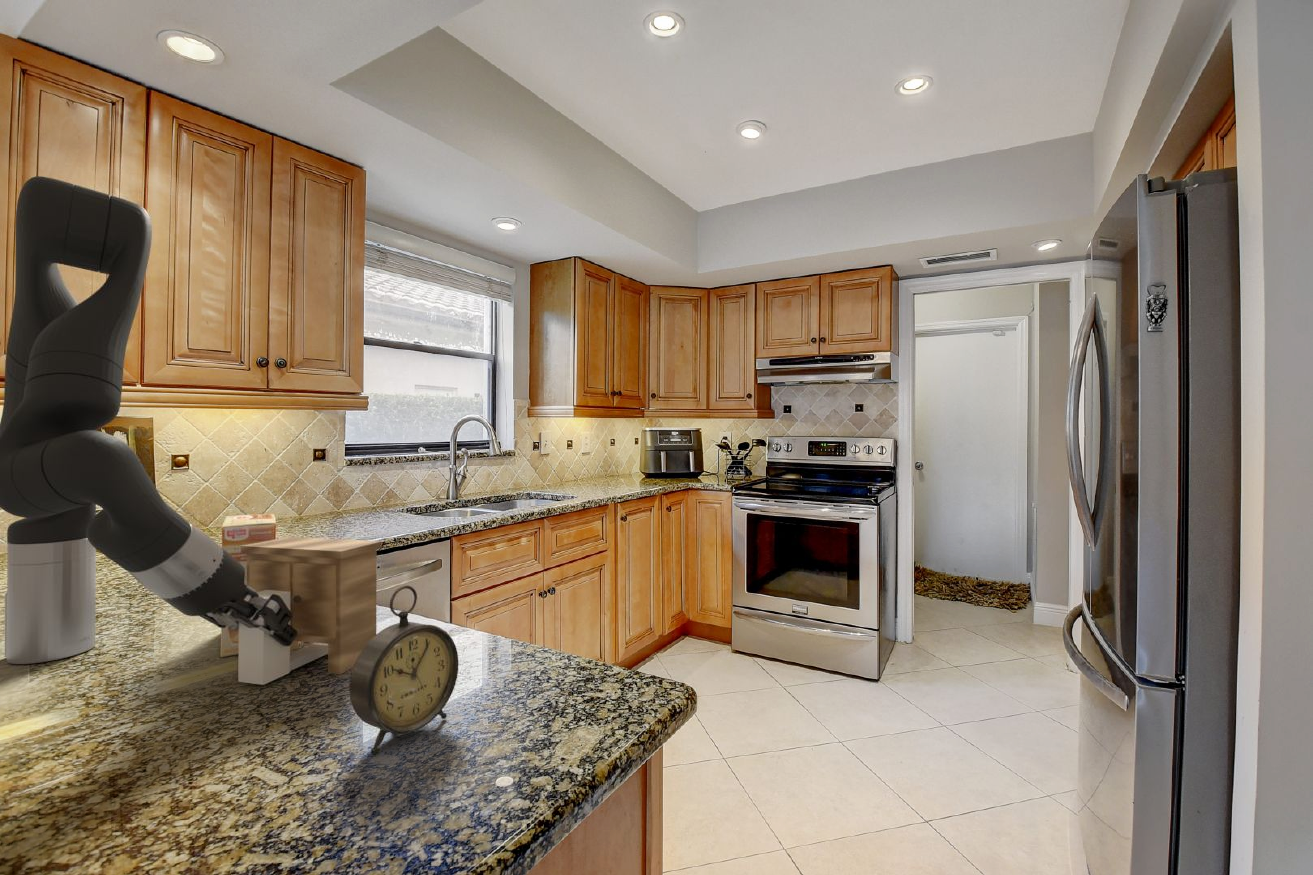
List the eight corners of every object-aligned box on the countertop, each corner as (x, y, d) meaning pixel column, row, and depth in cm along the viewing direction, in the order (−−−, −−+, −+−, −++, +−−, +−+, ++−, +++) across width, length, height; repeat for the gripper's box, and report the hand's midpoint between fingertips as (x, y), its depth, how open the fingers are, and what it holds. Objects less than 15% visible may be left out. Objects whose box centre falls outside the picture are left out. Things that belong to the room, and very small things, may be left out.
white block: (238, 681, 75) (239, 597, 75) (328, 642, 90) (329, 572, 90) (263, 684, 74) (263, 599, 74) (350, 645, 89) (351, 573, 89)
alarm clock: (371, 764, 57) (371, 601, 57) (340, 749, 60) (341, 593, 60) (461, 719, 66) (461, 578, 66) (431, 707, 69) (431, 572, 69)
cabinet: (237, 665, 82) (238, 546, 82) (288, 645, 90) (288, 536, 90) (338, 677, 78) (338, 551, 78) (381, 654, 86) (381, 541, 86)
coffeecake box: (276, 648, 89) (276, 522, 89) (218, 658, 85) (219, 526, 85) (274, 623, 101) (275, 512, 101) (224, 630, 97) (224, 515, 97)
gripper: (257, 544, 68) (336, 616, 80) (164, 539, 71) (253, 609, 83) (213, 601, 63) (304, 670, 74) (115, 592, 66) (217, 660, 78)
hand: (277, 637), depth 79 cm, fingers closed on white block, 4 cm apart
